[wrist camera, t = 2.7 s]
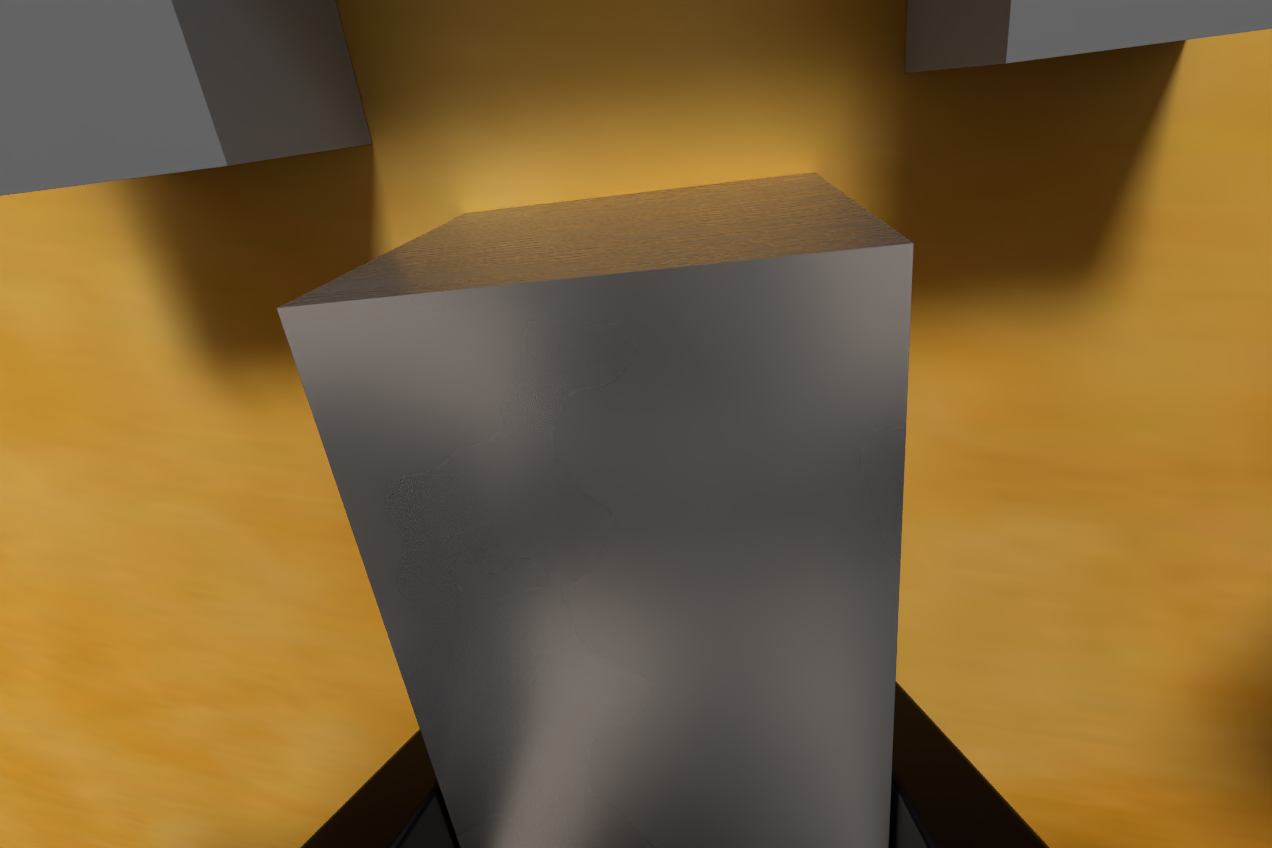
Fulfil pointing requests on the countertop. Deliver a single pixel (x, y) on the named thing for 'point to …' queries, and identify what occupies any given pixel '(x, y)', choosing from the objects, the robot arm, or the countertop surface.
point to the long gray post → (634, 508)
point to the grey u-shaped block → (326, 86)
